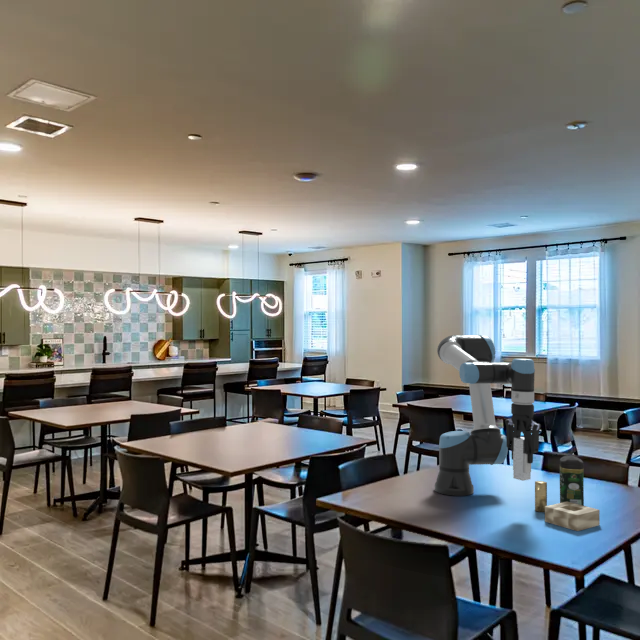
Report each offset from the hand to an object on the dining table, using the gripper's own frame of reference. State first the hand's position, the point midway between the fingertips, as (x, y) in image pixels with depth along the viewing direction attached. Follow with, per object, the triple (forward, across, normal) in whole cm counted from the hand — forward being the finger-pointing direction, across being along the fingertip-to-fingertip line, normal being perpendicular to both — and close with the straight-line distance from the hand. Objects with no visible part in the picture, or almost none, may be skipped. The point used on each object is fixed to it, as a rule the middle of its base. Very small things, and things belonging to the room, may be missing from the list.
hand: (522, 470), depth 213 cm
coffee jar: (+15, +5, +22) cm, 27 cm away
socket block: (+15, +16, +6) cm, 22 cm away
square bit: (+3, 0, 0) cm, 3 cm away
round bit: (+15, +1, +10) cm, 18 cm away
